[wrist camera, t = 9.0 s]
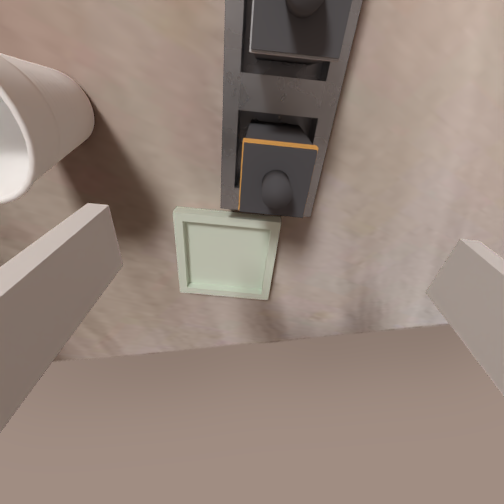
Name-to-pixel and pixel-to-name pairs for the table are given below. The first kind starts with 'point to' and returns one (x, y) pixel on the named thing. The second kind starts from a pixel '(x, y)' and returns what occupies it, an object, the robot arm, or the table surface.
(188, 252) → the tray
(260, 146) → the plug
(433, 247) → the table surface
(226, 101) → the strip
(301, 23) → the twin plug
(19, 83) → the cup
